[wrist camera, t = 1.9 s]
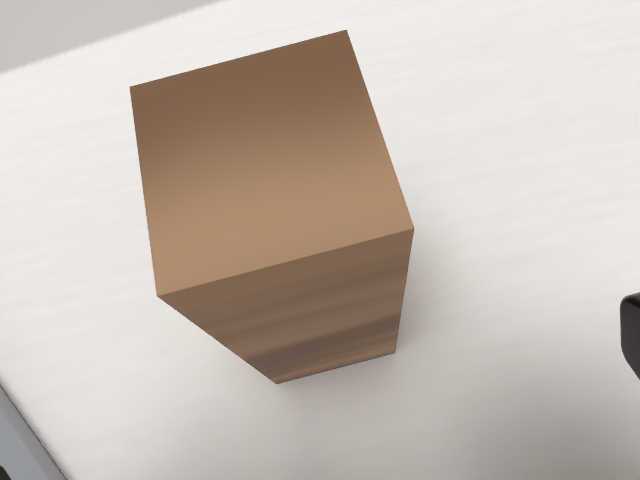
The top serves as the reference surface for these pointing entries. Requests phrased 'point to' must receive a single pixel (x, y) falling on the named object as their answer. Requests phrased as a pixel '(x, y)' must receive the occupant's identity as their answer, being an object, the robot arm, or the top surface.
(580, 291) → the top surface
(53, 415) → the top surface
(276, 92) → the brown wooden block
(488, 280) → the top surface
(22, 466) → the slate plate
